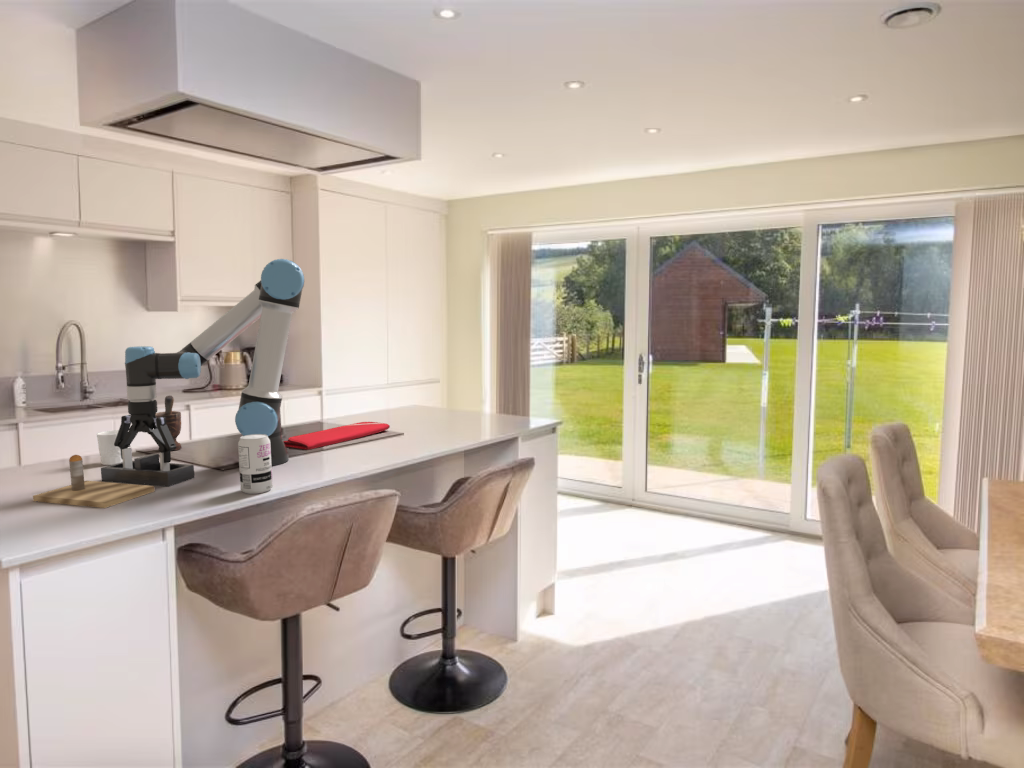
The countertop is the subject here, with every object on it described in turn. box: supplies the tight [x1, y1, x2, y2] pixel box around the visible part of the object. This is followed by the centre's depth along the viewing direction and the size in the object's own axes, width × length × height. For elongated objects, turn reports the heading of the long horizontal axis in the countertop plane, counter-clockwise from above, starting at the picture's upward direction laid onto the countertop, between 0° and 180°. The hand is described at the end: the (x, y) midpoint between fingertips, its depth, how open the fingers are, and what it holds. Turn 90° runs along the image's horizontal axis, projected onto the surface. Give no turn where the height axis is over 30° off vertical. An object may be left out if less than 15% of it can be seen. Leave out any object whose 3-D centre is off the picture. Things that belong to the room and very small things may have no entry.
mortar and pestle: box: [156, 394, 182, 452], centre depth 244 cm, size 12×9×20 cm
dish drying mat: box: [283, 421, 390, 451], centre depth 263 cm, size 16×41×4 cm, turn 146°
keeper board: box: [32, 454, 156, 509], centre depth 186 cm, size 24×16×11 cm, turn 73°
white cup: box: [96, 429, 123, 466], centre depth 225 cm, size 8×8×10 cm
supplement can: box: [237, 434, 274, 495], centre depth 189 cm, size 8×8×15 cm
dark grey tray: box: [100, 453, 196, 487], centre depth 203 cm, size 10×24×7 cm, turn 73°
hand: (146, 472), depth 203 cm, fingers open, 13 cm apart
